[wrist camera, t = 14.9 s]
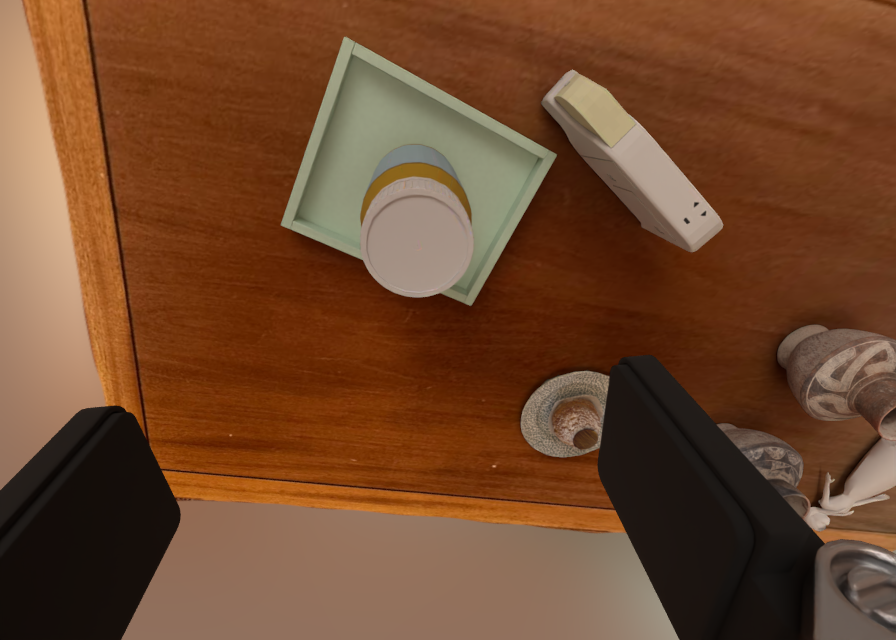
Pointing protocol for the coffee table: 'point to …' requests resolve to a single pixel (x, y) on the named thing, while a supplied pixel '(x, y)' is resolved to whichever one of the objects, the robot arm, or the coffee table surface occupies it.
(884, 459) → the woman figurine
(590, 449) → the pastry
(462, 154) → the tray
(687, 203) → the light grey boxy piece
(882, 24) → the coffee table surface
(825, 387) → the pottery
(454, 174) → the bottle
